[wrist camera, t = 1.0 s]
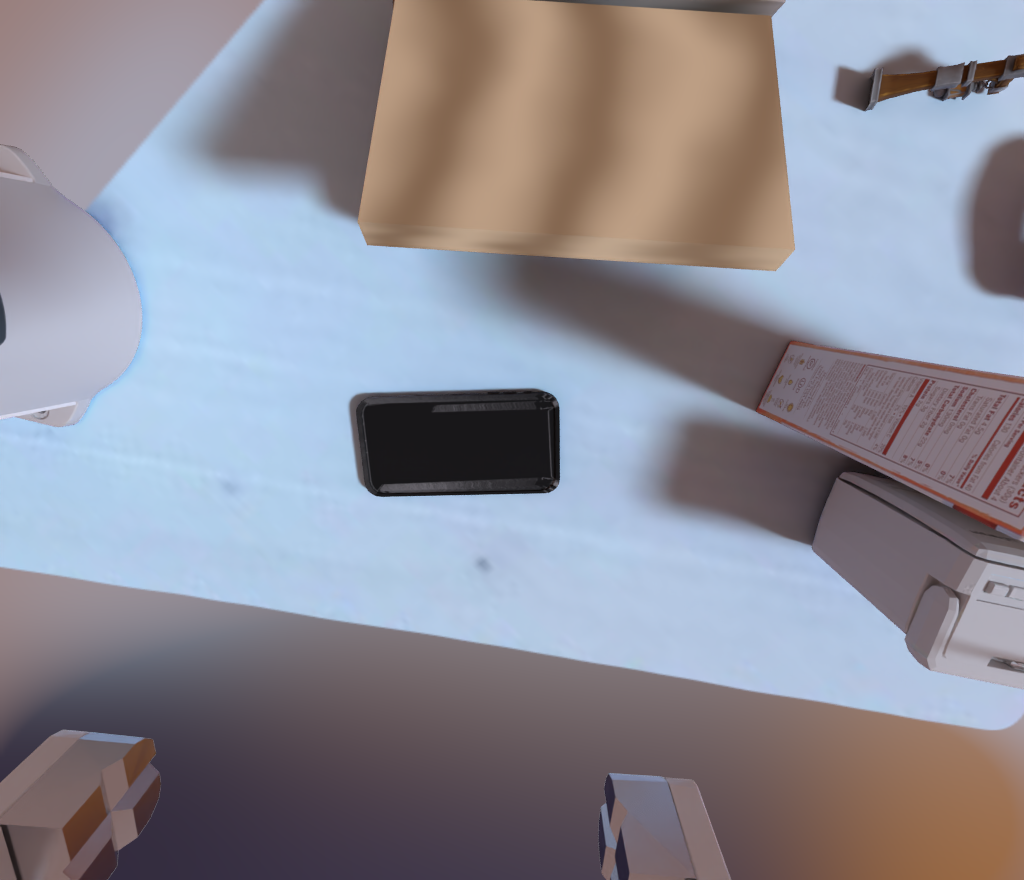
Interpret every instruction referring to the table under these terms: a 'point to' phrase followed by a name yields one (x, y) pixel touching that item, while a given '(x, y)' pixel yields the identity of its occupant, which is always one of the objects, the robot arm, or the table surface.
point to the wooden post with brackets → (948, 80)
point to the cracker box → (912, 424)
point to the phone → (460, 444)
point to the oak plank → (580, 134)
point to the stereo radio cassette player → (930, 575)
